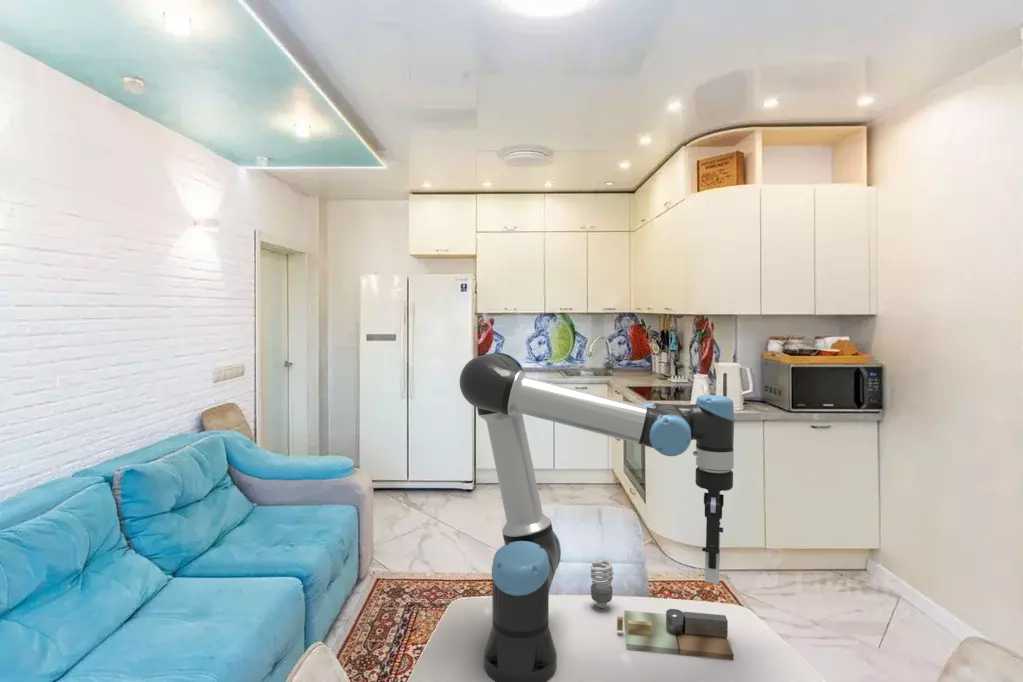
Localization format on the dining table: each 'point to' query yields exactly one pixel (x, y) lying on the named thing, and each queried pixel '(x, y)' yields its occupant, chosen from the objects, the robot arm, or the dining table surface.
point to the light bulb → (601, 590)
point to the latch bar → (696, 623)
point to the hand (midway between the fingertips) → (712, 571)
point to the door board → (669, 638)
